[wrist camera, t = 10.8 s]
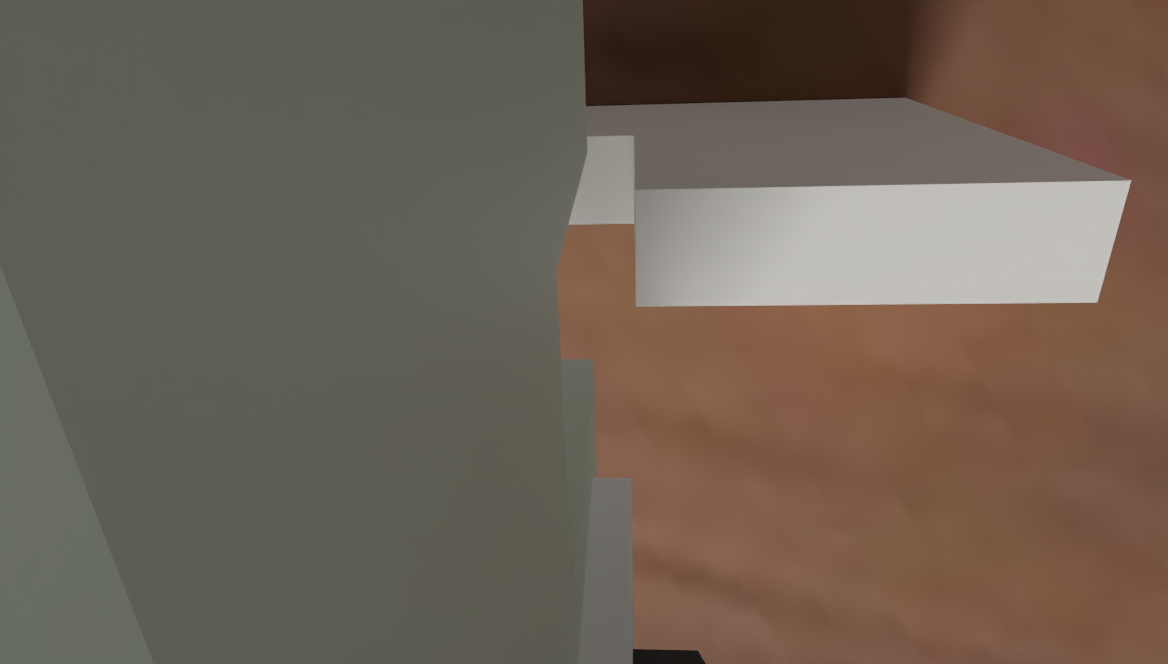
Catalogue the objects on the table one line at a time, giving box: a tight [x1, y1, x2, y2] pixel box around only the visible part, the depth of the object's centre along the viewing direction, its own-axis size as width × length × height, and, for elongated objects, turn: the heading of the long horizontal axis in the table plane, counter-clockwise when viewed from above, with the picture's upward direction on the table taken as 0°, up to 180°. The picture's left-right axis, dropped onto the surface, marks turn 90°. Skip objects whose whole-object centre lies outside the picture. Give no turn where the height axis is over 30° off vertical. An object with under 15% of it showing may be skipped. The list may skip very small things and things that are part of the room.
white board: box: [568, 98, 1131, 306], centre depth 20 cm, size 22×2×12 cm, turn 92°
